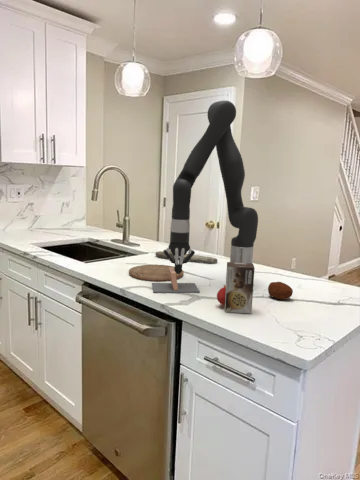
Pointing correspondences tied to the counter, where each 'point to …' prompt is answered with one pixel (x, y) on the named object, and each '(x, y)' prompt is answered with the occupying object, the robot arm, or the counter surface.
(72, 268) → the counter surface
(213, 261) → the elongated rock
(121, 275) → the counter surface
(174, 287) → the tile
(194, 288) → the mat
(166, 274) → the trivet
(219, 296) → the pomegranate
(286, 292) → the potato
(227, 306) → the coffee box
